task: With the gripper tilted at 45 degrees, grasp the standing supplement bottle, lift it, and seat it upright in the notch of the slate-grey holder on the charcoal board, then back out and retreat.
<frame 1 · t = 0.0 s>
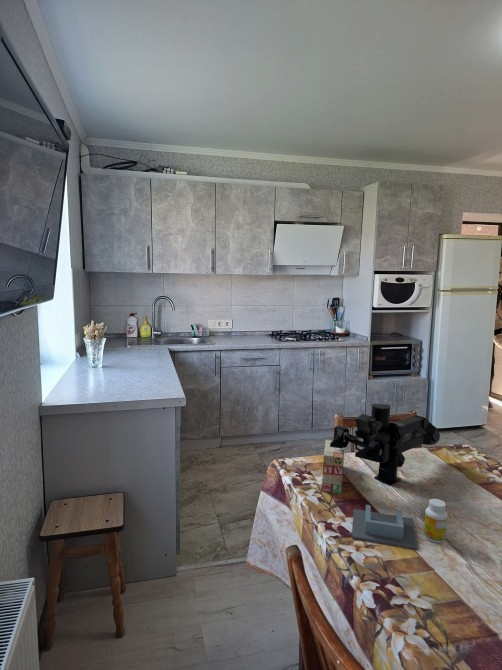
hand: (342, 449, 129), 17 cm above the table, tool horizontal, fingers open, 9 cm apart
stack of blocks: (332, 478, 147), on the table
supplement bottle: (434, 538, 115), on the table
notch holder: (383, 528, 118), on the table
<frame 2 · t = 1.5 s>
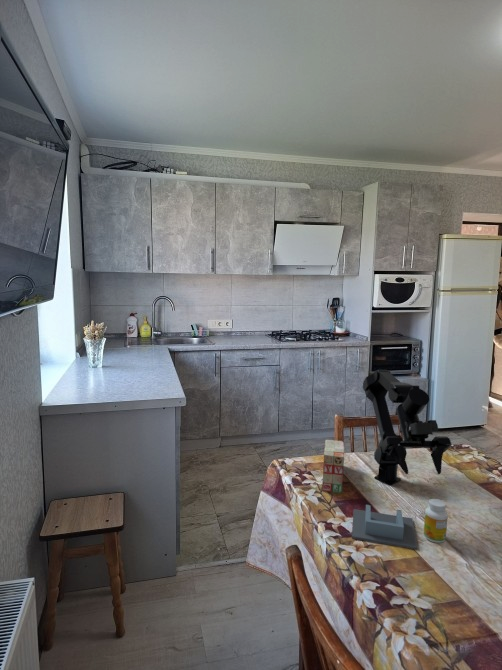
hand: (423, 473, 121), 14 cm above the table, tool tilted 45°, fingers open, 9 cm apart
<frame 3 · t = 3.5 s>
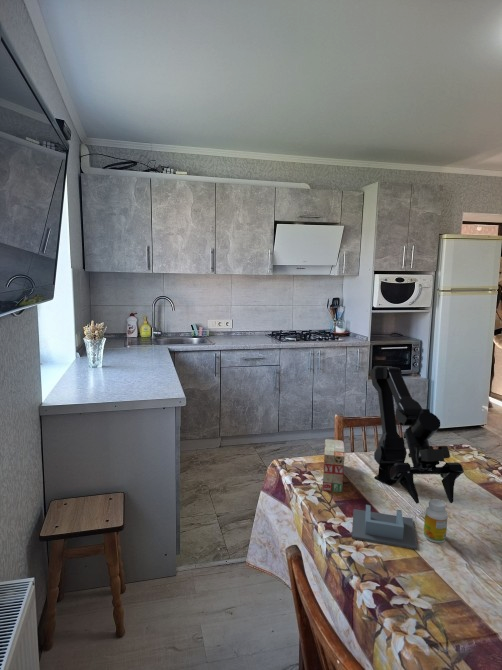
hand: (434, 503, 115), 9 cm above the table, tool tilted 45°, fingers open, 9 cm apart
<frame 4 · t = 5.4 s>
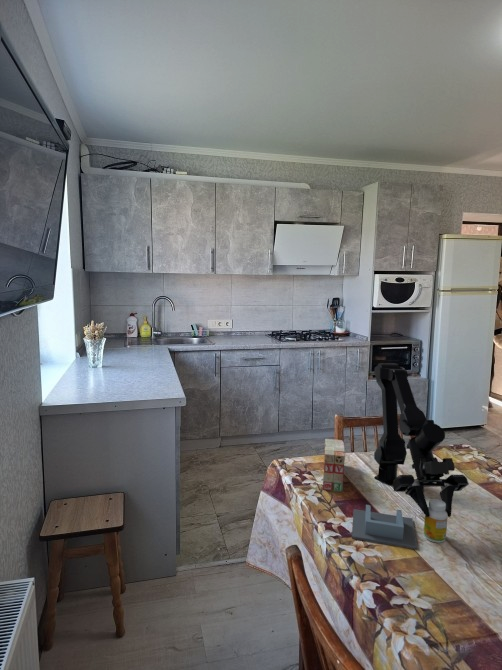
hand: (439, 516, 112), 7 cm above the table, tool tilted 45°, fingers closed on supplement bottle, 5 cm apart
supplement bottle: (434, 537, 115), on the table, touching gripper
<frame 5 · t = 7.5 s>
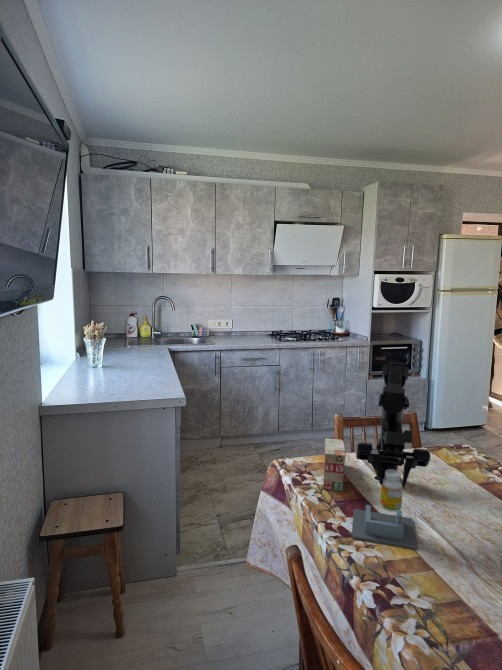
hand: (392, 485, 114), 13 cm above the table, tool tilted 45°, fingers closed on supplement bottle, 5 cm apart
supplement bottle: (390, 507, 116), point 6 cm above the table, touching gripper
when the fingers open (8 cm above the table, at t = 9.6 s): supplement bottle drops 1 cm, resting on notch holder.
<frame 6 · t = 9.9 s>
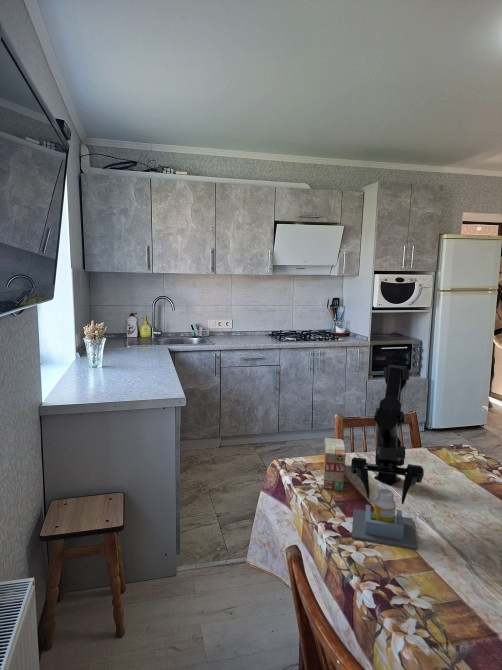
hand: (385, 501, 115), 9 cm above the table, tool tilted 45°, fingers open, 8 cm apart
supplement bottle: (383, 527, 118), resting on notch holder
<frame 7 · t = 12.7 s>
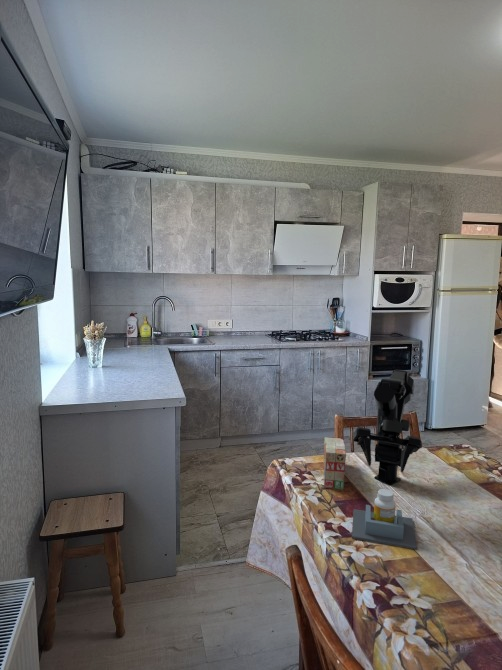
hand: (385, 468, 124), 13 cm above the table, tool tilted 40°, fingers open, 9 cm apart
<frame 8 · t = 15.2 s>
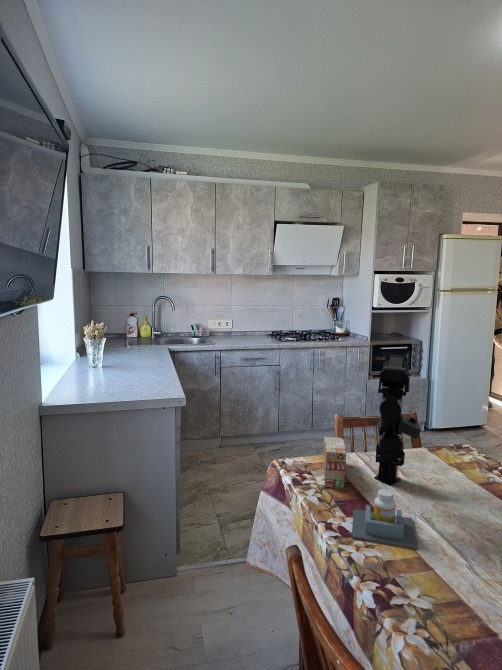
hand: (387, 461, 130), 13 cm above the table, tool pointing down, fingers open, 9 cm apart
at the end: supplement bottle 0.2 cm off-centre on the notch holder, point 0.4 cm above the notch holder's base; supplement bottle tilted 0°; the gripper is holding nothing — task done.
